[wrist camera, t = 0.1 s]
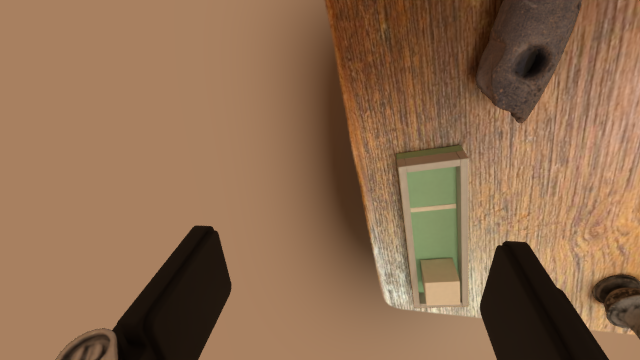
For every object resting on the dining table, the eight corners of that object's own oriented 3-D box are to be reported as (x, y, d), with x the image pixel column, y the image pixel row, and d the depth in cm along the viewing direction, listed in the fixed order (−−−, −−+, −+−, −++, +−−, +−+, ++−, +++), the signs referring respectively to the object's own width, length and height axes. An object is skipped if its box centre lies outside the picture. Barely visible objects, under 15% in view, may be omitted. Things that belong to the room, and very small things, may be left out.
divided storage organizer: (395, 153, 37) (398, 167, 33) (460, 144, 35) (468, 158, 32) (411, 288, 46) (414, 308, 43) (462, 286, 45) (468, 306, 42)
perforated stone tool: (525, -91, 25) (573, -117, 19) (594, -82, 24) (664, -105, 18) (457, 96, 33) (475, 119, 27) (508, 105, 32) (538, 130, 26)
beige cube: (420, 259, 42) (424, 283, 38) (452, 257, 41) (459, 281, 37) (422, 281, 43) (426, 305, 40) (453, 280, 42) (460, 304, 39)
